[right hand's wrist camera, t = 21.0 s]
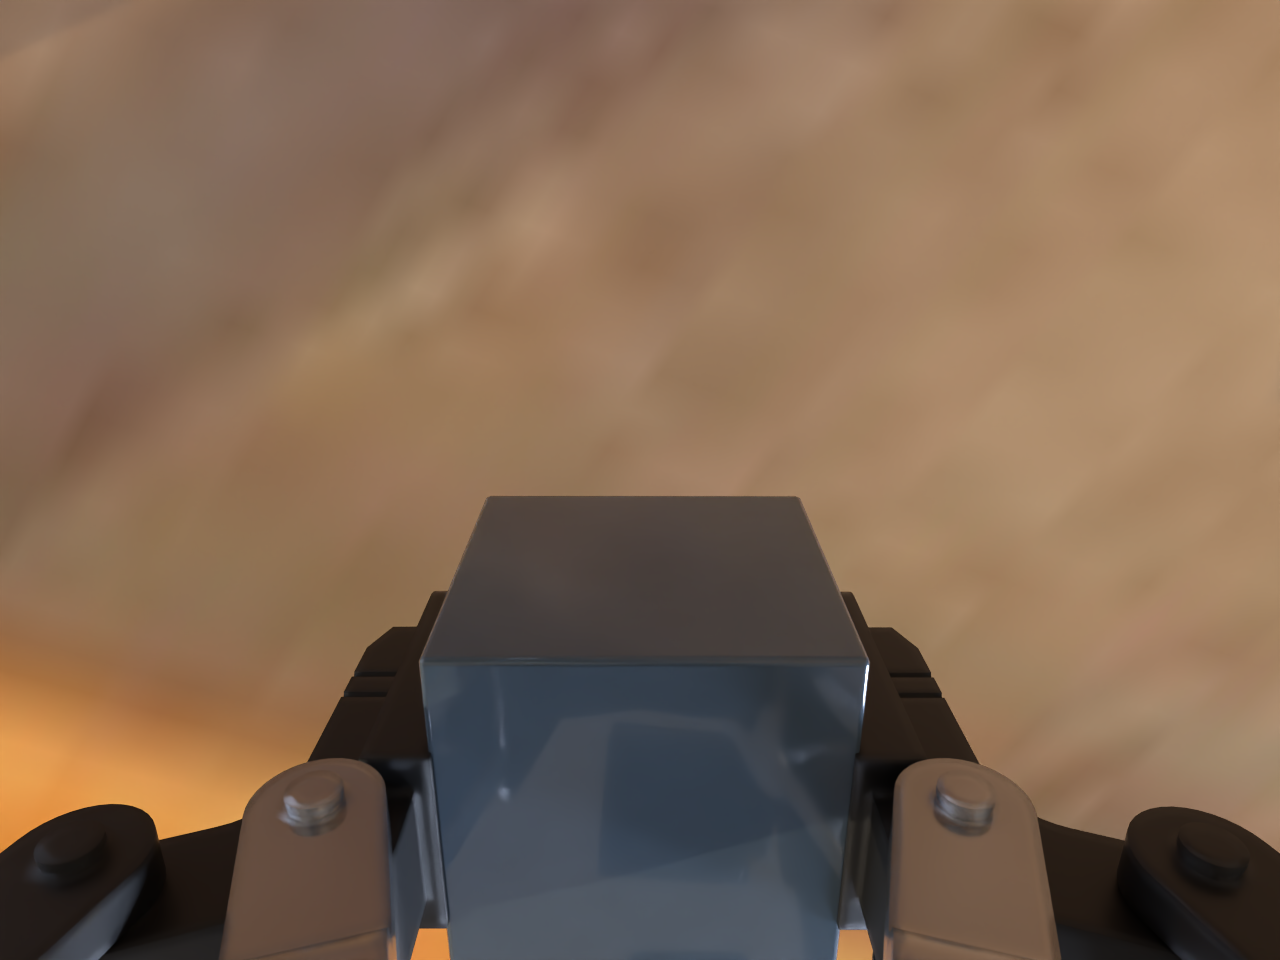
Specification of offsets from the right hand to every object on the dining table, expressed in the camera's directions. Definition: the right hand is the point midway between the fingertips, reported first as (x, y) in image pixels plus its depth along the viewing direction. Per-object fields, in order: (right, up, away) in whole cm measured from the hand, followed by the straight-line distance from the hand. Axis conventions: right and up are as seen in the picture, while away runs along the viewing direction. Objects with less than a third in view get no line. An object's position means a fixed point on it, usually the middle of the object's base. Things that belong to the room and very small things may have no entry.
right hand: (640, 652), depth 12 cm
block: (0, 0, 0) cm, 0 cm away
